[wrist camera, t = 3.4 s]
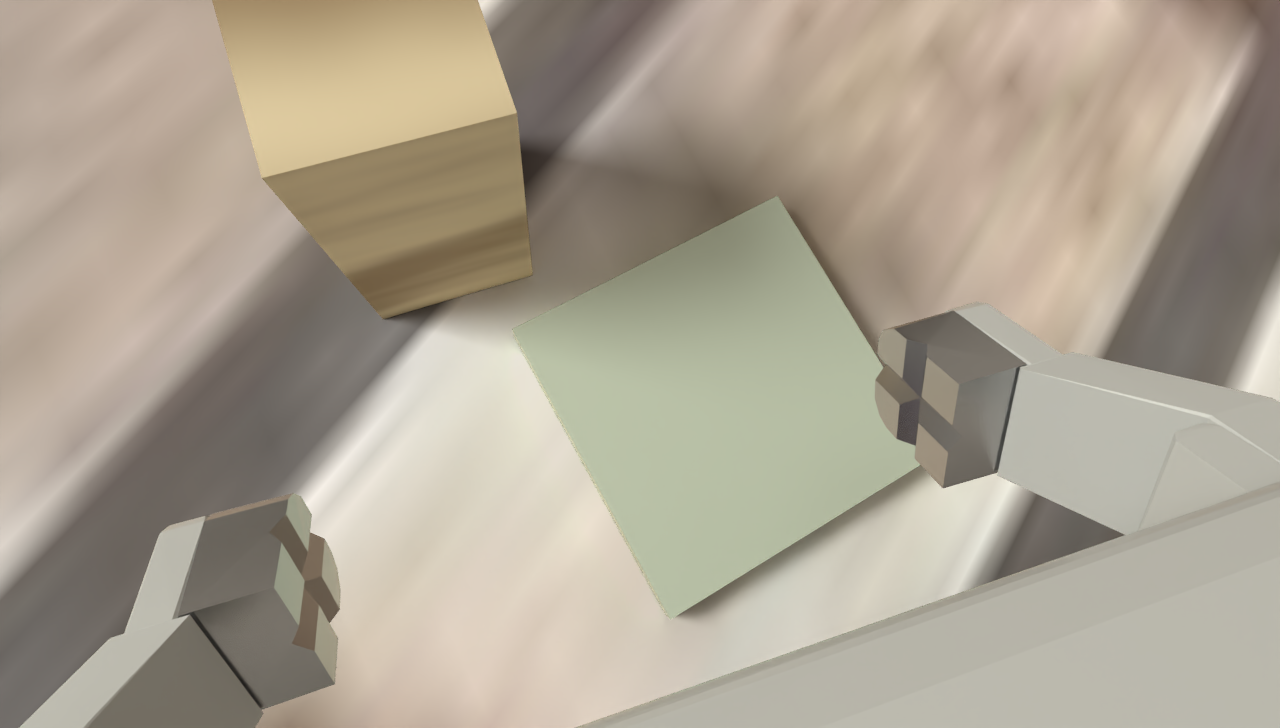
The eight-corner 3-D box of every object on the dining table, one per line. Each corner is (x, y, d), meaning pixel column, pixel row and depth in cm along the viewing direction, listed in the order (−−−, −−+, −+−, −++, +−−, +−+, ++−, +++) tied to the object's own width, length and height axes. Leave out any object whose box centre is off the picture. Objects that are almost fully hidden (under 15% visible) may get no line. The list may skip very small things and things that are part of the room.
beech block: (532, 275, 25) (517, 112, 15) (383, 319, 24) (261, 178, 14) (488, 142, 25) (445, -94, 16) (341, 181, 24) (199, -44, 15)
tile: (922, 457, 25) (937, 454, 24) (665, 615, 23) (670, 619, 22) (769, 208, 26) (777, 195, 25) (514, 336, 24) (512, 329, 23)
